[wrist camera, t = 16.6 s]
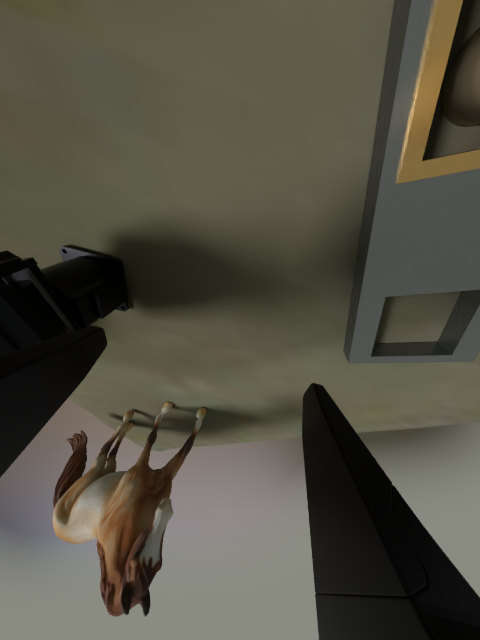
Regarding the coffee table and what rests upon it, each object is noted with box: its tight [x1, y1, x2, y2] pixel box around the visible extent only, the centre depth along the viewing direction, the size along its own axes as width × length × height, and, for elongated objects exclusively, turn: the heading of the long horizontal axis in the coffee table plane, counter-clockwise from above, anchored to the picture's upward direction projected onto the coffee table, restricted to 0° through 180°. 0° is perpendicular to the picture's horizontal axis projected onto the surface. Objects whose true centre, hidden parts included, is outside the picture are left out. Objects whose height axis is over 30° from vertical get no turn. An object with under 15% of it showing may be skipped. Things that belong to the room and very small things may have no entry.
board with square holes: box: [343, 0, 480, 363], centre depth 14 cm, size 25×11×2 cm, turn 10°
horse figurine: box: [53, 402, 206, 616], centre depth 30 cm, size 31×8×21 cm, turn 117°
